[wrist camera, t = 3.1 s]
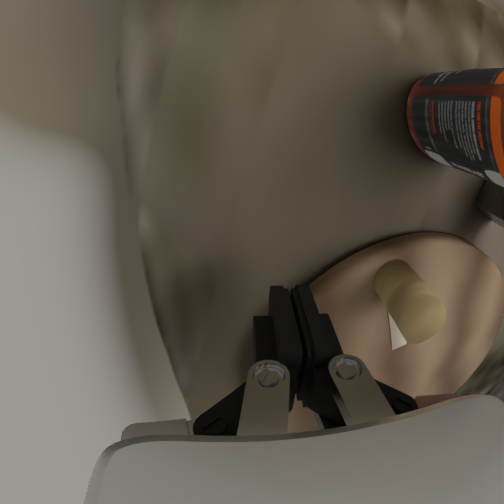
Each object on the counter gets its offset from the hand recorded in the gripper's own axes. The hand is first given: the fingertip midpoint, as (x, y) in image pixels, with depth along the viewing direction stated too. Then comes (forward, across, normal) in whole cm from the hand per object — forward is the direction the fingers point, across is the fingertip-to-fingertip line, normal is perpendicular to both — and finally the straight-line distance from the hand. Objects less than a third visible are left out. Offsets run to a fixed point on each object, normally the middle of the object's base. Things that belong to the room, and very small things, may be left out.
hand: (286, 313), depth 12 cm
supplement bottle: (+6, -11, -10) cm, 15 cm away
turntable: (+6, -11, +10) cm, 16 cm away
